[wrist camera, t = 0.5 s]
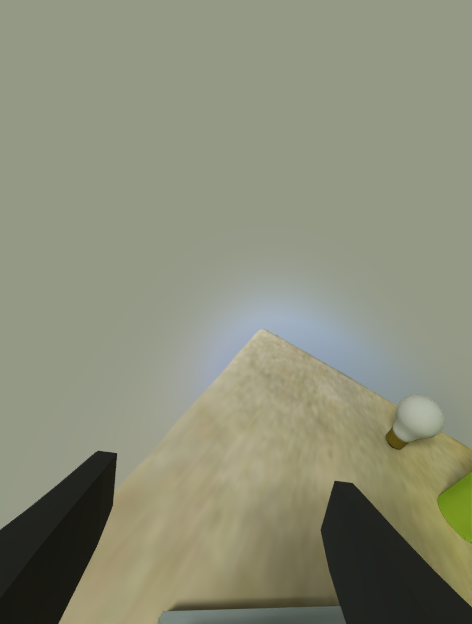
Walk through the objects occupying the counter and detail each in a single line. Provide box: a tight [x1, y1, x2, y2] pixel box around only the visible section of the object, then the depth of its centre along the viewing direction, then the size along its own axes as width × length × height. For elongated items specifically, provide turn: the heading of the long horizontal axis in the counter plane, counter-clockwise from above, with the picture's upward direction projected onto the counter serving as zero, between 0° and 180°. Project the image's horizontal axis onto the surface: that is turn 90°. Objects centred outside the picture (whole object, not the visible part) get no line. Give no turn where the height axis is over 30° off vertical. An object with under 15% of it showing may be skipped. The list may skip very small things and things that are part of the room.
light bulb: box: [386, 395, 445, 449], centre depth 42 cm, size 6×6×10 cm
